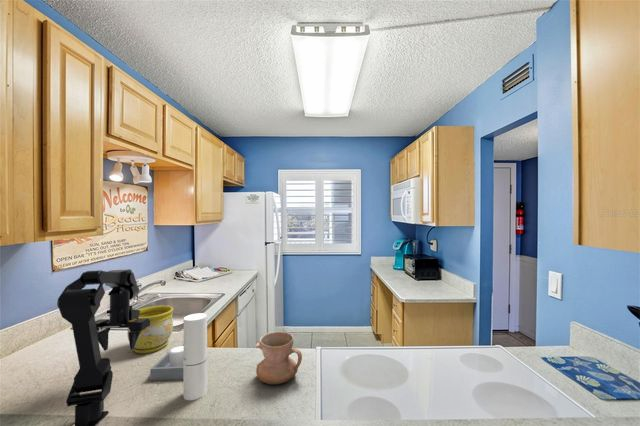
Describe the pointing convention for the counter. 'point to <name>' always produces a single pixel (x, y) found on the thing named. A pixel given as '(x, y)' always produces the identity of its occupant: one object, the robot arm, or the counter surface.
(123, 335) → the counter surface
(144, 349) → the flowerpot
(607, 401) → the counter surface
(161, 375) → the tray
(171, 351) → the short white cylinder
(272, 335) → the ceramic jug
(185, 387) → the cylindrical container
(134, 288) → the robot arm
